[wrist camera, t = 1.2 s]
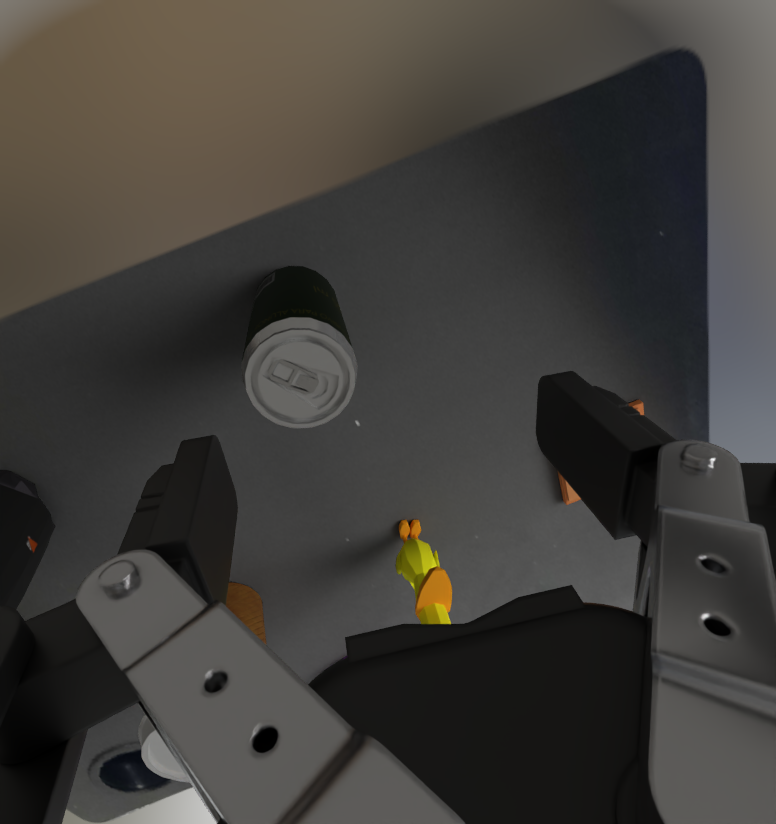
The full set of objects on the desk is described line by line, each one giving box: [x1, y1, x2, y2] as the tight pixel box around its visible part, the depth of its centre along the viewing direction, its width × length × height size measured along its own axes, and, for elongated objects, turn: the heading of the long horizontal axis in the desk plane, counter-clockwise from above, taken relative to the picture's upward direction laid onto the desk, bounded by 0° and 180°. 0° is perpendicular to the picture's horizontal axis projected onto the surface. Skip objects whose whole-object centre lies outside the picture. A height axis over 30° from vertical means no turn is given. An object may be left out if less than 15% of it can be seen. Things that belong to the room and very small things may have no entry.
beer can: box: [241, 266, 357, 428], centre depth 28 cm, size 5×5×12 cm
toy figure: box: [396, 520, 452, 624], centre depth 39 cm, size 7×4×12 cm, turn 176°
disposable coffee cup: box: [138, 582, 266, 782], centre depth 39 cm, size 10×10×12 cm
